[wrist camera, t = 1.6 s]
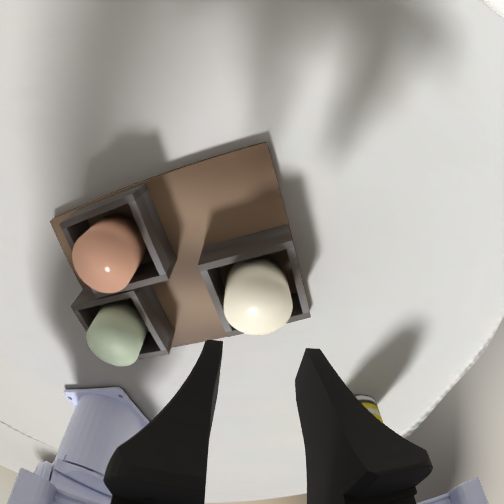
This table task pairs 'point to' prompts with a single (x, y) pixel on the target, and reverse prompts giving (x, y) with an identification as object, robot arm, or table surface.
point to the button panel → (192, 245)
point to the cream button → (257, 296)
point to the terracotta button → (109, 253)
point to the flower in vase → (495, 6)
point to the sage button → (117, 333)
